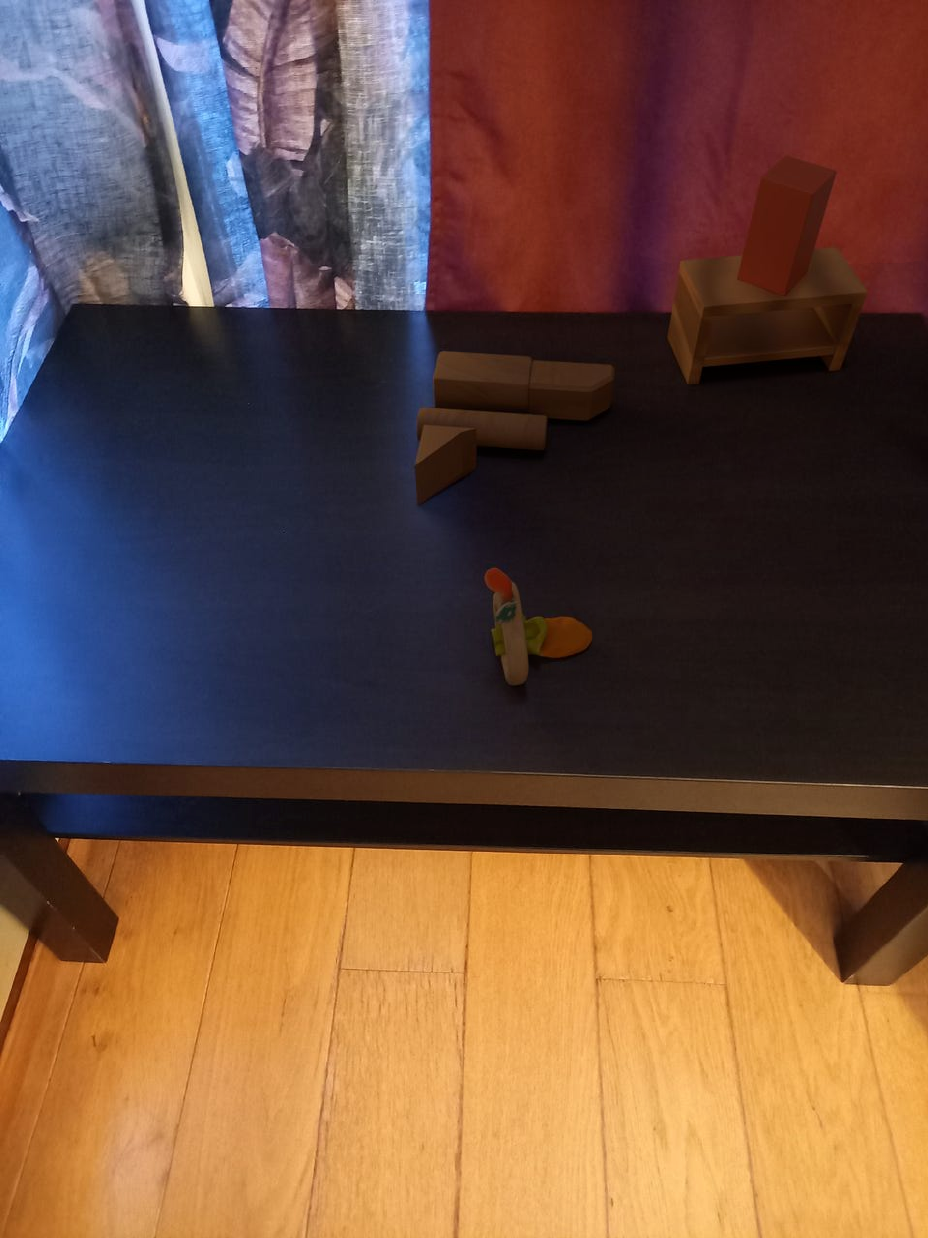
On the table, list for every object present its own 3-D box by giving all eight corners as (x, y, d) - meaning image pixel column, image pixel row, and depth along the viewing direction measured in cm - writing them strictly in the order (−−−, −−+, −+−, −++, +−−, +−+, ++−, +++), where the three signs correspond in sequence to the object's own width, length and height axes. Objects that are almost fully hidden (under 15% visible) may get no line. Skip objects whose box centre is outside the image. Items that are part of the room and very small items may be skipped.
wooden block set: (429, 339, 91) (616, 351, 90) (431, 387, 96) (609, 399, 94) (401, 456, 81) (612, 471, 79) (405, 504, 85) (605, 519, 84)
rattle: (588, 708, 71) (603, 614, 62) (481, 697, 72) (480, 603, 63) (592, 630, 76) (606, 532, 67) (491, 621, 77) (492, 523, 68)
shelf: (812, 324, 101) (837, 246, 94) (840, 370, 96) (868, 291, 89) (667, 337, 100) (680, 260, 93) (687, 384, 95) (703, 306, 88)
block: (807, 272, 91) (837, 170, 83) (784, 296, 89) (813, 193, 81) (760, 256, 93) (785, 154, 85) (736, 279, 91) (760, 176, 83)
